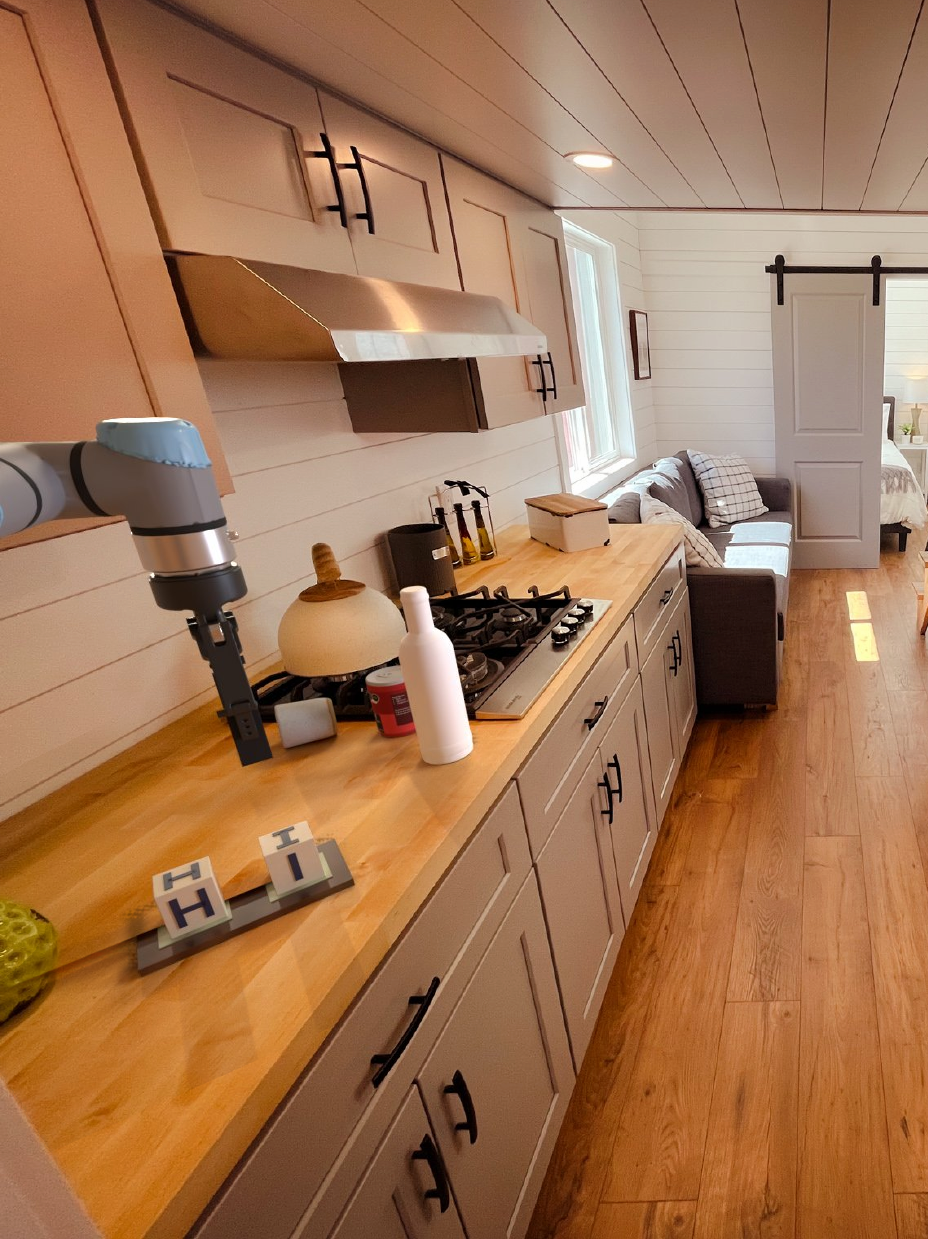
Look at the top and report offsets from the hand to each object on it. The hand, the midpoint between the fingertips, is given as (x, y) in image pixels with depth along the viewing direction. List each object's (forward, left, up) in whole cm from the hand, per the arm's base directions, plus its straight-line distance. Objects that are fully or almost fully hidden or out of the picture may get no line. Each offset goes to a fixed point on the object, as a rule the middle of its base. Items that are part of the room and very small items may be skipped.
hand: (249, 738), depth 80 cm
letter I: (0, 0, -21) cm, 21 cm away
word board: (-5, 0, -22) cm, 22 cm away
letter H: (-9, 0, -21) cm, 23 cm away
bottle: (+24, +20, -22) cm, 38 cm away
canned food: (+21, +35, -22) cm, 46 cm away
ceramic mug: (+8, +43, -22) cm, 49 cm away
